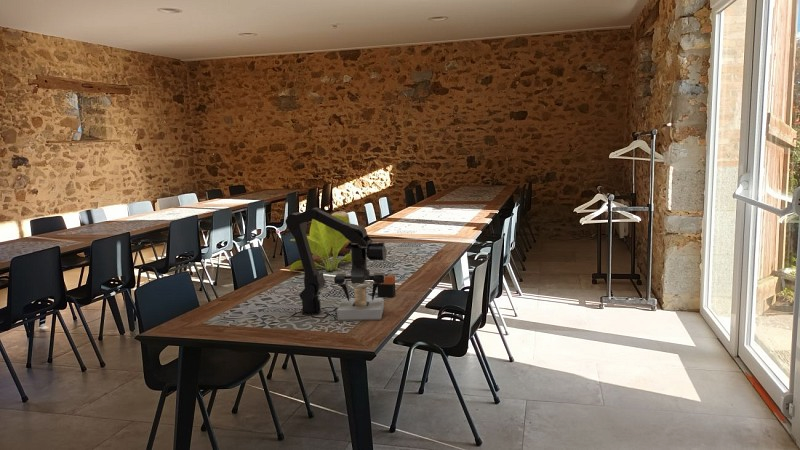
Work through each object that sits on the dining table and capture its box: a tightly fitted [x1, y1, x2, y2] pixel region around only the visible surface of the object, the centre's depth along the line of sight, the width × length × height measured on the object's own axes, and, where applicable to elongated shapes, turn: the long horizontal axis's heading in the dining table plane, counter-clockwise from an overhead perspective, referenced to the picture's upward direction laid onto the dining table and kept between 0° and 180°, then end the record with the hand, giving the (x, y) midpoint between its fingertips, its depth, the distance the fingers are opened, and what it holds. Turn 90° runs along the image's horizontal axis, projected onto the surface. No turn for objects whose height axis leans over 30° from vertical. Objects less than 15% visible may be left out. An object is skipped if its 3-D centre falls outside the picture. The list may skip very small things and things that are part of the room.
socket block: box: [336, 297, 385, 322], centre depth 236 cm, size 16×16×4 cm
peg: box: [354, 285, 367, 306], centre depth 236 cm, size 4×4×10 cm
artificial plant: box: [289, 215, 352, 272], centre depth 318 cm, size 42×43×30 cm
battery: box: [376, 271, 397, 298], centre depth 261 cm, size 4×7×10 cm, turn 73°
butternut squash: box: [330, 210, 351, 256], centre depth 355 cm, size 14×13×25 cm
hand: (360, 300), depth 236 cm, fingers open, 9 cm apart
